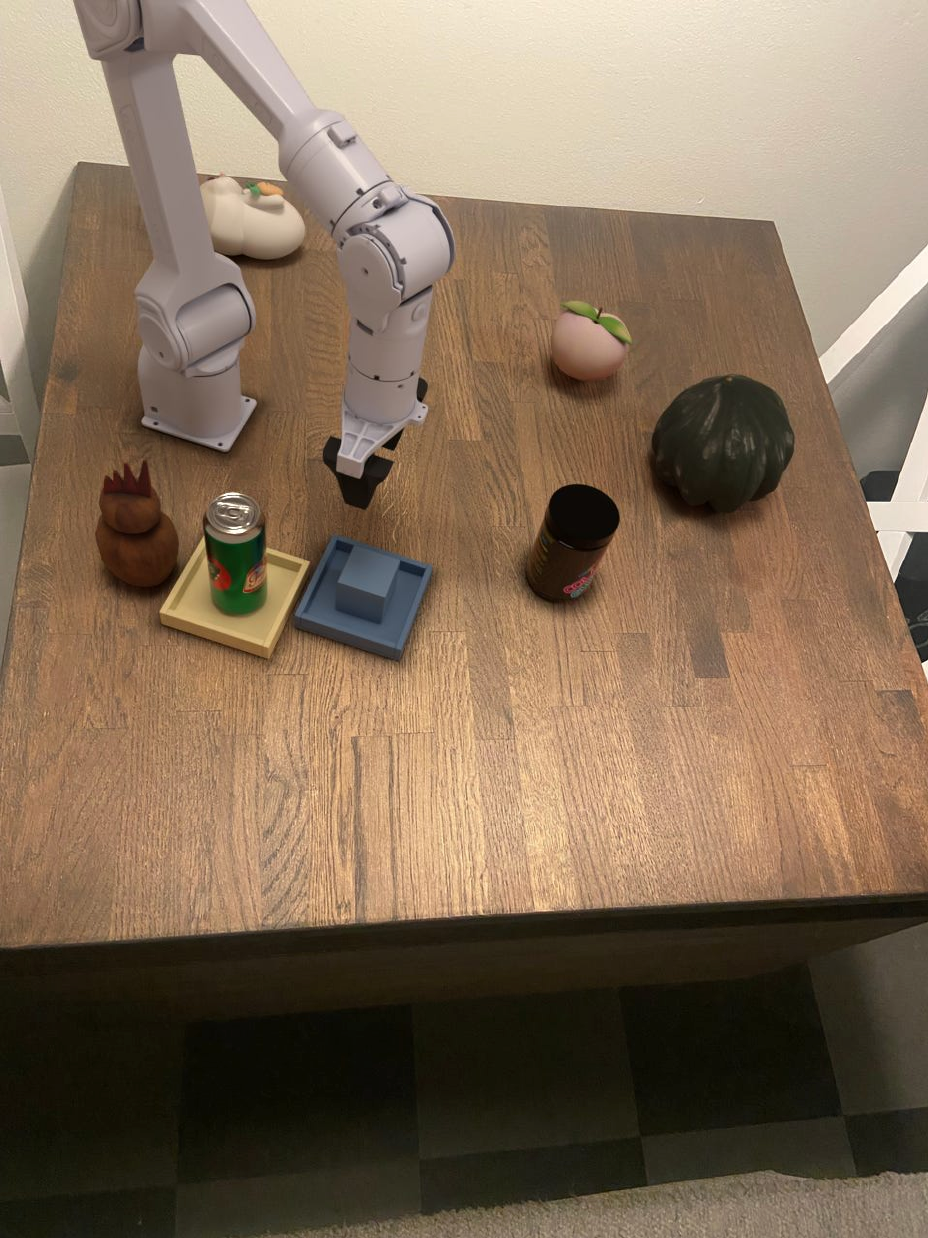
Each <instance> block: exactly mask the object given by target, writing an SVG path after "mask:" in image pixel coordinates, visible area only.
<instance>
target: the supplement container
mask: <svg viewBox="0 0 928 1238" xmlns="http://www.w3.org/2000/svg"><path fill="white" fill-rule="evenodd" d="M620 515H621V514H620V510H619V508H618V505H617V503H616V502H615V501H614V500H613V499H612V497H610V496H609V495H608V493H605V492H604V491H603V490H601V489H600V488H597V487H595V486H592V485H588V484H584V483H583V484H582V483H570V484H566V485H564V486H561V487H559V488H558V489H557V490H555V491H554V492H553V493H552V495H551V496H550V498H549V500H548V504H547V505H546V507H545V511H544V516H543V518H542V521H541V523H540V526H539V529H538V532H537V535H536V538H535V540H534V543H533V545H532V548H531V551H530V554H529V557H528V560H527V562H526V566H525V572H526V577H527V581H528V583H529V585H530V586H531V587H532V589H533V590H534V591H535V592H536V593H537V594H538V595H540V596H542V597H543V598H545V599H547V600H550V601H554V602H558V603H559V602H560V603H565V602H566V603H567V602H571V601H574V600H577V599H579V598H581V597H582V596H583V595H584V594H586V593H587V591H588V589H589V587H590V586H591V584H592V581H593V580H594V577H595V575H596V573H597V571H598V569H599V566H600V564H601V562H602V560H603V558H604V556H605V554H606V552H607V550H608V548H609V546H610V543H611V542H612V540H613V539H614V537H615V534H616V532H617V530H618V528H619V525H620V522H621V517H620Z"/></svg>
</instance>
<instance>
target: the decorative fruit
mask: <svg viewBox="0 0 928 1238" xmlns="http://www.w3.org/2000/svg"><path fill="white" fill-rule="evenodd" d="M560 306H561V307H563V308H565V310H564V311H563V312H562V313H561V314H560V315H559V316H558V318H557V319H556V320H555V323H554V325H553V328H552V330H551V335H550V351H551V356H552V359H553V361H554V363H555V364H556V366H557V367H558V368H559V369H560V371H562V372H563V373H564V374H566V375H567V376H569V377H571V378H573V379H576V380H579V381H582V382H590V383H591V382H592V383H593V382H599V381H603V380H604V379H606V378H609V377H610V376H611V375H613V374H614V373H616V371H617V370H618V369H619V368H620V367H621V366H622V365H623V363H624V362H625V360H626V358H627V356H628V352H629V349H630V346H633V340H632V336H631V334H630V332H629V330H628V328H627V326H626V324H625V323H624V322H623V321H622V320H621V319H620V318H619V317H618V316H617V315H615V314H613V313H612V314H611V313H606V312H603V310H604V309H603V306H601V307H599V310H598V309H597V308H596V307H594V306H592V305H591V304H589V303H587V302H585V301H582V300H581V301H580V300H570V301H569V300H568V301H565V302H562V303H560Z"/></svg>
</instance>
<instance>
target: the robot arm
mask: <svg viewBox="0 0 928 1238" xmlns="http://www.w3.org/2000/svg"><path fill="white" fill-rule="evenodd" d="M72 2H73V6H74V10H75V13H76V16H77V20H78V23H79V27H80V30H81V34H82V37H83V40H84V43H85V46H86V50H87V53H88V56H89V58H90V59H91V60H93V61H100V65H101V69H102V73H103V77H104V79H105V83H106V87H107V90H108V95H109V98H110V101H111V105H112V108H113V113H114V116H115V119H116V124H117V127H118V131H119V135H120V138H121V141H122V144H123V149H124V153H125V156H126V160H127V163H128V168H129V171H130V174H131V178H132V183H133V185H134V189H135V192H136V196H137V200H138V203H139V208H140V211H141V215H142V218H143V222H144V227H145V229H146V233H147V236H148V240H149V244H150V247H151V251H152V254H153V259H152V261H151V262H150V265H149V266H148V268H147V269H146V271H145V272H144V274H143V276H141V278H140V280H139V282H138V283H137V285H136V287H135V288H134V291H133V294H134V297H135V302H136V307H137V329H138V334H139V336H140V339H141V341H142V346H141V348H140V352H139V354H138V361H137V378H138V383H139V390H140V396H141V401H142V407H143V413H144V416H143V417H142V419H141V425H143V426H144V427H146V428H149V429H152V430H156V431H158V432H161V433H165V434H168V435H171V436H172V437H173V436H174V437H177V438H180V439H183V440H186V441H189V442H192V443H194V444H198V445H201V446H205V447H207V448H210V449H214V450H217V451H219V452H223V453H226V452H229V451H230V450H231V448H232V446H233V445H234V443H235V442H236V440H237V438H238V437H239V435H240V434H241V432H242V430H243V429H244V426H245V425H246V423H247V422H248V420H249V418H250V417H251V415H252V414H253V412H254V410H255V409H256V407H257V405H258V402H257V400H256V399H254V398H251V397H248V396H245V395H242V386H241V385H242V383H241V363H240V352H241V350H242V349H243V348H244V347H245V346H246V343H245V341H246V340H245V337H246V336H248V335H250V334H252V333H253V332H254V330H255V329H256V325H257V312H256V307H255V303H254V301H253V298H252V296H251V294H250V293H249V290H248V289H247V286H246V284H245V281H244V279H243V274H242V270H241V268H240V266H239V265H238V264H236V262H234V261H233V260H232V259H230V258H229V257H227V256H226V255H224V254H222V253H219V252H217V251H215V250H214V249H213V244H212V240H211V235H210V231H209V226H208V222H207V217H206V213H205V208H204V204H203V199H202V195H201V190H200V186H201V184H200V181H199V177H198V172H197V168H196V163H195V160H194V153H193V150H192V145H191V141H190V136H189V132H188V128H187V123H186V119H185V114H184V110H183V105H182V100H181V96H180V92H179V87H178V82H177V78H176V73H175V68H174V60H175V58H176V57H177V55H186V56H187V55H188V56H197V57H201V59H202V60H203V61H204V62H205V64H207V65H208V66H209V68H210V69H211V70H212V71H213V72H214V73H215V74H216V75H217V76H218V77H219V79H221V81H222V82H223V83H224V84H225V85H226V86H227V88H228V89H229V90H230V91H231V92H232V93H233V94H234V95H235V96H236V97H237V99H239V101H240V102H241V103H242V104H243V105H244V107H246V109H248V111H249V112H250V113H251V114H252V115H253V116H254V117H255V118H256V120H257V121H258V122H259V123H260V124H261V125H262V126H263V127H264V128H265V129H266V131H267V132H268V133H269V134H270V135H271V136H272V137H273V138H274V139H275V141H276V142H277V145H278V157H277V158H278V160H277V162H278V169H279V172H280V174H281V175H282V177H284V179H285V181H287V183H288V184H289V185H290V187H291V188H292V189H293V190H294V192H295V193H296V194H297V195H298V197H299V198H300V200H301V201H302V202H303V203H304V205H306V207H307V208H308V209H309V211H310V212H311V214H312V215H313V216H314V217H315V218H316V220H317V221H318V222H319V224H320V225H321V226H322V227H323V229H324V230H325V232H327V235H328V236H330V237H331V239H332V240H333V242H334V243H335V244H336V245H337V247H336V260H337V266H338V270H339V272H340V275H341V278H342V280H343V282H344V285H345V289H346V302H345V303H346V306H347V307H348V312H349V314H350V320H349V321H350V322H349V323H350V324H349V335H348V349H347V361H346V374H345V384H344V387H343V390H342V392H341V438H338V437H336V436H332V435H329V437H328V439H327V441H326V443H325V444H324V446H323V449H322V462H323V464H324V465H325V466H326V467H327V468H328V469H329V470H330V471H331V473H332V474H333V475H334V477H335V478H336V481H337V483H338V487H339V490H340V494H341V496H342V499H343V502H344V505H347V506H350V507H353V508H357V509H360V510H362V511H366V510H367V509H368V508H369V507H370V504H371V502H372V500H373V497H374V495H375V493H376V490H377V487H378V486H379V485H380V484H382V483H383V482H384V481H385V480H386V478H387V477H388V476H389V475H390V473H391V470H392V468H393V467H394V464H395V461H394V460H391V459H388V458H385V457H382V456H379V455H376V452H377V450H378V449H380V448H383V449H387V450H389V451H392V452H394V451H395V450H396V448H397V446H398V444H399V443H400V439H401V437H402V435H403V433H404V430H405V427H406V426H407V425H413V426H415V427H420V426H422V425H423V424H424V423H425V421H426V418H427V416H428V414H429V413H428V412H429V406H428V405H427V404H425V403H423V401H424V399H425V396H426V395H427V392H428V388H429V383H428V382H427V381H426V380H425V379H424V378H422V377H420V373H421V372H420V371H421V366H422V361H423V354H424V349H425V343H426V338H427V337H426V336H427V329H428V324H429V319H430V312H431V307H432V301H433V300H432V299H433V295H434V286H433V285H434V284H435V283H437V282H438V281H440V280H441V279H442V278H444V276H446V275H447V274H449V273H450V271H451V270H452V268H453V267H454V264H455V261H456V256H457V255H456V254H457V248H456V245H457V244H456V240H455V236H454V232H453V230H452V227H451V225H450V223H449V221H448V219H447V218H446V216H445V215H444V213H443V211H442V209H441V207H440V206H439V205H438V203H436V202H435V201H434V200H432V199H431V198H429V197H428V196H426V195H422V194H418V193H416V192H414V191H413V190H411V189H410V187H409V186H408V185H404V184H403V183H400V184H397V183H396V182H395V181H394V179H393V178H392V176H391V175H390V174H389V173H388V171H387V170H386V168H385V167H384V166H383V164H382V163H381V162H380V161H379V160H378V159H377V157H376V156H375V154H374V153H373V152H372V151H371V149H370V147H369V146H368V145H367V144H366V143H365V141H364V140H363V139H362V138H361V136H360V134H359V133H358V132H357V131H356V129H355V128H354V127H353V125H352V124H351V123H350V122H349V121H348V119H347V118H346V116H345V115H344V114H343V113H342V112H340V111H337V110H332V109H325V108H319V107H317V106H316V105H315V103H314V101H312V98H311V97H310V95H309V94H308V93H307V91H306V89H305V88H304V87H303V85H302V84H301V82H300V80H299V79H298V78H297V75H296V74H295V73H294V72H293V70H292V68H291V67H290V65H289V63H287V60H286V59H285V58H284V56H283V54H282V53H281V52H280V50H279V49H278V47H277V46H276V44H275V43H274V41H273V39H272V38H271V37H270V35H269V33H268V32H267V31H266V29H265V28H264V26H263V24H262V23H261V21H260V20H259V18H258V17H257V15H256V14H255V12H254V11H253V9H252V8H251V6H250V5H249V3H248V1H247V0H72Z"/></svg>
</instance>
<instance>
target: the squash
mask: <svg viewBox="0 0 928 1238" xmlns="http://www.w3.org/2000/svg"><path fill="white" fill-rule="evenodd" d="M795 438H796V436H795V432H794V430H793V428H792V426H791V423H790V418H789V415H788V411H787V408H786V406H785V404H784V401H783V400H782V397H781V396H780V395H779V394H778V393H777V392H776V391H775V390H774V389H773V388H772V387H770V386H768V385H766V384H765V383H763V382H761V381H758V380H755V379H753V378H752V377H749V376H747V375H743V374H736V373H730V374H724V375H714V376H711V377H707V378H704V379H702V380H701V381H699V382H697V383H695V384H692V385H690V386H688V387H686V388H685V389H684V390H683V391H681V392H680V393H679V394H678V395H677V396H676V397H675V398H674V399H673V400H672V401H671V403H670V404H669V405H668V406H667V407H666V408H665V410H664V411H663V412H662V413H661V415H660V416H659V418H658V420H657V422H656V424H655V427H654V428H653V432H652V436H651V450H652V452H653V454H654V456H655V470H656V472H657V474H658V476H659V477H660V479H661V480H663V481H664V482H665V483H667V484H668V485H670V486H672V487H677V488H678V490H679V493H680V495H681V498H682V499H683V500H684V502H686V503H687V505H689V506H694V507H695V506H700V505H704V504H705V503H706V502H708V504H709V506H710V507H711V508H712V510H715V511H716V512H718V513H720V514H731V513H734V512H736V511H738V510H740V509H741V508H743V507H744V506H745V505H746V504H747V503H749V502H758V501H760V500H762V499H764V498H765V497H766V496H767V495H769V494H771V493H774V492H775V491H776V490H777V488H778V486H779V484H780V482H781V479H782V476H783V473H784V472H785V471H786V470H787V468H788V466H789V464H790V462H791V460H792V458H793V456H794V452H795V440H796V439H795Z"/></svg>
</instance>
